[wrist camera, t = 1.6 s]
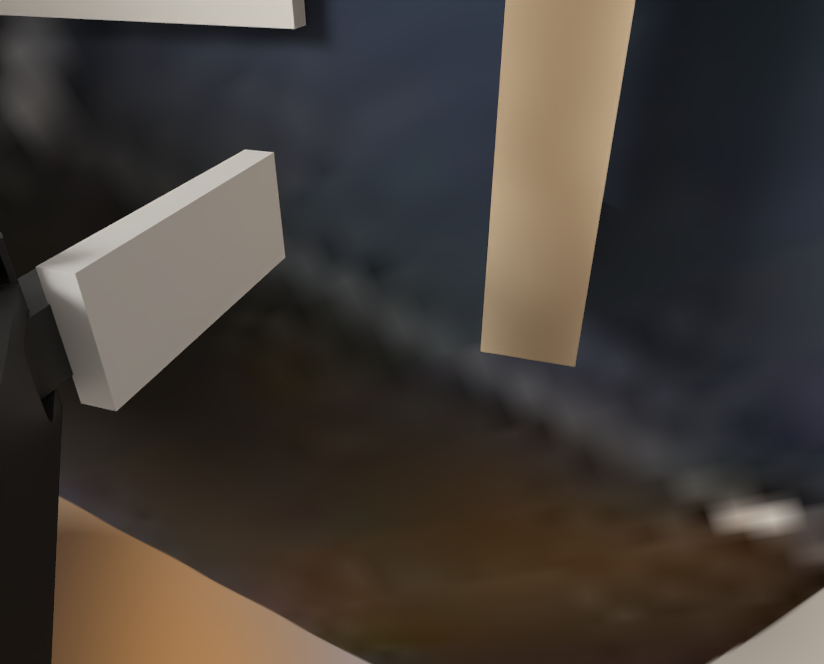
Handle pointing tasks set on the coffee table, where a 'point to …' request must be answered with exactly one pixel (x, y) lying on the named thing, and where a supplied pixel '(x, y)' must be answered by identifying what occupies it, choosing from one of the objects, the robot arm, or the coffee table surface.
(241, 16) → the rest board
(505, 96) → the beige piece
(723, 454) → the coffee table surface
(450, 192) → the coffee table surface
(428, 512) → the coffee table surface
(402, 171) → the coffee table surface
